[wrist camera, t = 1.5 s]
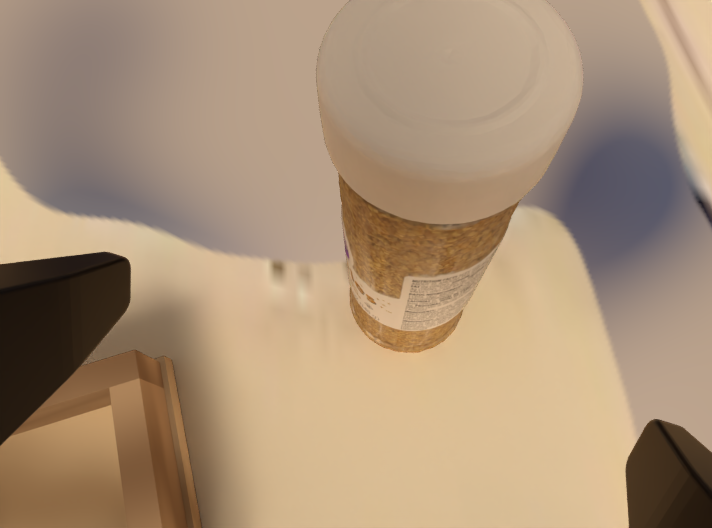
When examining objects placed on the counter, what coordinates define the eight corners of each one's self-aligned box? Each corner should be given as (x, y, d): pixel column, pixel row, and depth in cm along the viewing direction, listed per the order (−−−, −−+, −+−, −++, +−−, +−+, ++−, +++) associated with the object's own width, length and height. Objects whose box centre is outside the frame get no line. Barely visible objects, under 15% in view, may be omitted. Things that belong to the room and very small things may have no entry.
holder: (218, 620, 17) (187, 648, 15) (-61, 717, 17) (-148, 766, 14) (171, 359, 21) (139, 342, 18) (-63, 432, 20) (-135, 425, 17)
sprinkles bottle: (336, 265, 22) (284, -14, 9) (441, 235, 22) (525, -73, 10) (368, 371, 20) (356, 205, 8) (481, 338, 21) (645, 125, 8)
